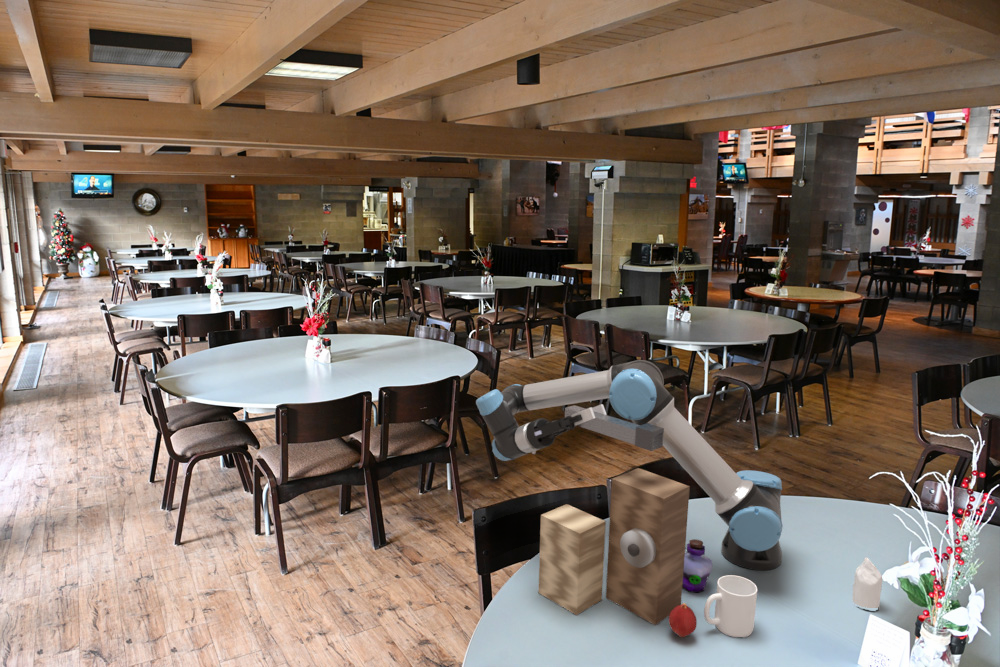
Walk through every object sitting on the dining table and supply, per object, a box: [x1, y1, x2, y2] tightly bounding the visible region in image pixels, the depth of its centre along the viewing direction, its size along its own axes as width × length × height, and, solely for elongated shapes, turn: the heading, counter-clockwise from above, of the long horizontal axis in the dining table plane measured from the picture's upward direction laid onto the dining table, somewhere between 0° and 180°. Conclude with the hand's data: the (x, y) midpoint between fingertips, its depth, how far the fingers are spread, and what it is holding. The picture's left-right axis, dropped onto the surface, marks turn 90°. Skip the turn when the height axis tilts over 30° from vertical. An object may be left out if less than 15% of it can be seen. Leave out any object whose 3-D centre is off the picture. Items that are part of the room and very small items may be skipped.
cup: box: [703, 574, 758, 638], centre depth 149 cm, size 8×12×10 cm
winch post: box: [605, 467, 691, 626], centre depth 155 cm, size 14×13×30 cm
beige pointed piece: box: [851, 557, 883, 608], centre depth 159 cm, size 6×12×6 cm
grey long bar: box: [564, 404, 664, 452], centre depth 160 cm, size 26×4×4 cm, turn 43°
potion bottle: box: [682, 539, 713, 594], centre depth 165 cm, size 9×9×12 cm
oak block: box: [538, 503, 607, 616], centre depth 159 cm, size 12×9×20 cm
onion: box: [668, 602, 697, 638], centre depth 146 cm, size 6×6×8 cm
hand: (598, 411), depth 162 cm, fingers closed on grey long bar, 3 cm apart
